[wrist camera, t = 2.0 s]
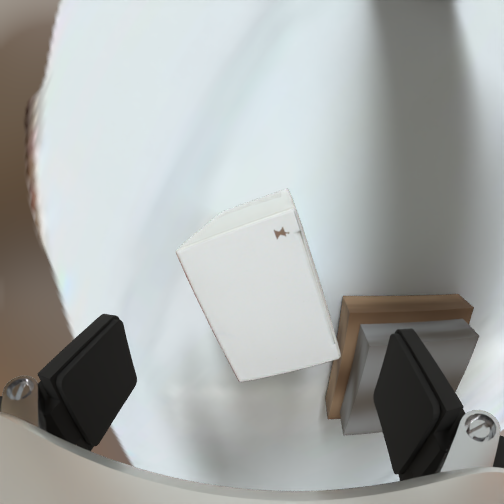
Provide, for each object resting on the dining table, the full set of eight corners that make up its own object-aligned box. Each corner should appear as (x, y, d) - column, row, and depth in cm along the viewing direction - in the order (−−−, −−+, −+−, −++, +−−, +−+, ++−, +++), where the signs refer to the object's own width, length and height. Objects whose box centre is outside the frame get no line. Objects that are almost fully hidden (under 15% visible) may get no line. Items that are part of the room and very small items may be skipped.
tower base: (342, 295, 23) (358, 334, 17) (458, 293, 22) (491, 323, 16) (325, 398, 27) (330, 442, 21) (425, 389, 25) (443, 426, 20)
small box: (220, 211, 22) (169, 246, 12) (289, 186, 21) (294, 202, 11) (256, 301, 24) (237, 386, 14) (320, 281, 23) (342, 361, 13)
